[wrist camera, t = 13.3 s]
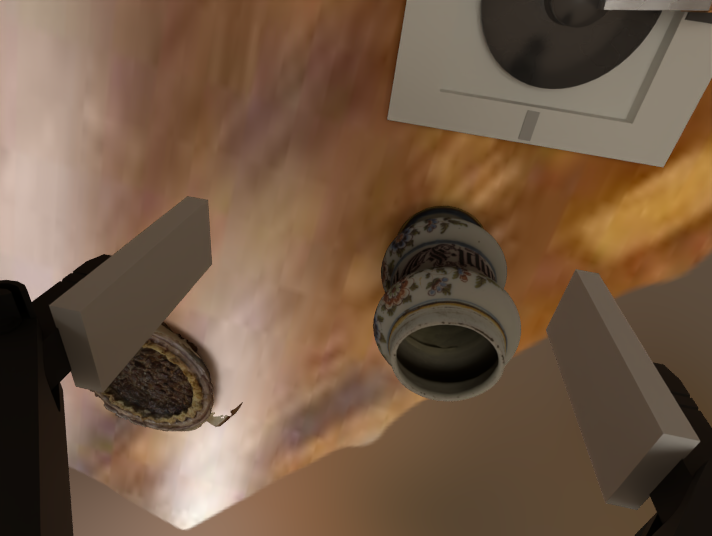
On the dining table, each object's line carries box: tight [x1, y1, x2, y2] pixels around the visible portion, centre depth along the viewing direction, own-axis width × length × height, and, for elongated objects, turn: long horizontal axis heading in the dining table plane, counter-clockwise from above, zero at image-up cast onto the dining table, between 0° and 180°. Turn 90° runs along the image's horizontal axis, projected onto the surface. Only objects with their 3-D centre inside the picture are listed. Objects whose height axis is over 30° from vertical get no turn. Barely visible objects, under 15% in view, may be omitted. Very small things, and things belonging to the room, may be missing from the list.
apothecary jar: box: [373, 206, 521, 401], centre depth 39 cm, size 12×12×18 cm
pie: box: [90, 322, 243, 431], centre depth 63 cm, size 28×27×5 cm
